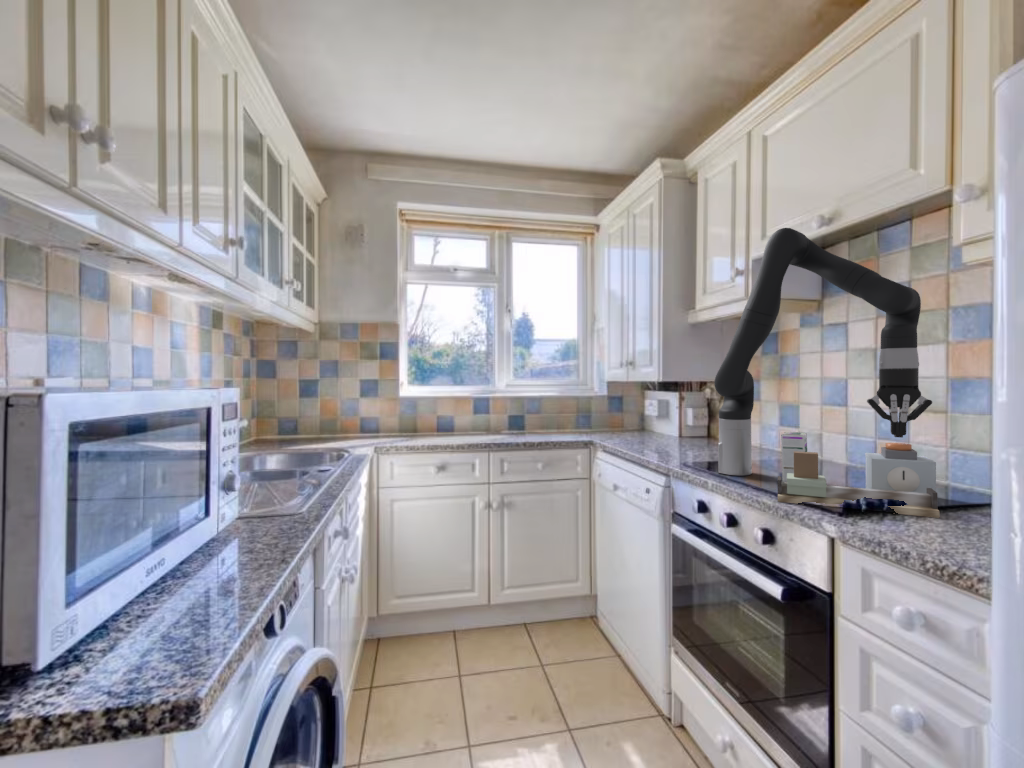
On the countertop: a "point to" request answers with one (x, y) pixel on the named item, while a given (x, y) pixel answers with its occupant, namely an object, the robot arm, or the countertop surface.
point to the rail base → (839, 501)
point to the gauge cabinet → (900, 471)
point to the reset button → (899, 446)
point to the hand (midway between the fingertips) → (898, 436)
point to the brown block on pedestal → (806, 476)
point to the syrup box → (791, 450)
